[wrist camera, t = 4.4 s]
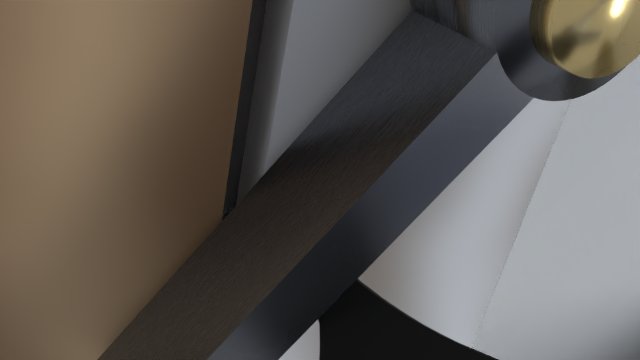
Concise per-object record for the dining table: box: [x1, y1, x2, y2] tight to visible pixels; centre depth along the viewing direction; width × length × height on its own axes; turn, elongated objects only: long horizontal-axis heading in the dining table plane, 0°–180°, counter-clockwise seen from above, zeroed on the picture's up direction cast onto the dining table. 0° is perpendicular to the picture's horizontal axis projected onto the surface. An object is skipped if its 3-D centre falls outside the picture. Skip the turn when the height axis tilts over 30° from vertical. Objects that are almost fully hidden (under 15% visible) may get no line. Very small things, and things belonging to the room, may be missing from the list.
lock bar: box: [97, 0, 640, 360], centre depth 11 cm, size 14×3×4 cm, turn 136°
